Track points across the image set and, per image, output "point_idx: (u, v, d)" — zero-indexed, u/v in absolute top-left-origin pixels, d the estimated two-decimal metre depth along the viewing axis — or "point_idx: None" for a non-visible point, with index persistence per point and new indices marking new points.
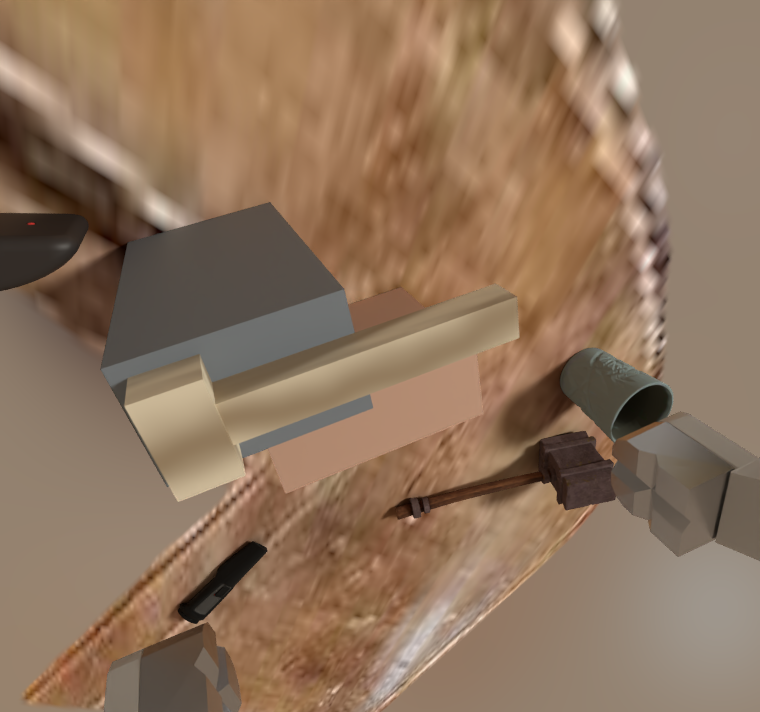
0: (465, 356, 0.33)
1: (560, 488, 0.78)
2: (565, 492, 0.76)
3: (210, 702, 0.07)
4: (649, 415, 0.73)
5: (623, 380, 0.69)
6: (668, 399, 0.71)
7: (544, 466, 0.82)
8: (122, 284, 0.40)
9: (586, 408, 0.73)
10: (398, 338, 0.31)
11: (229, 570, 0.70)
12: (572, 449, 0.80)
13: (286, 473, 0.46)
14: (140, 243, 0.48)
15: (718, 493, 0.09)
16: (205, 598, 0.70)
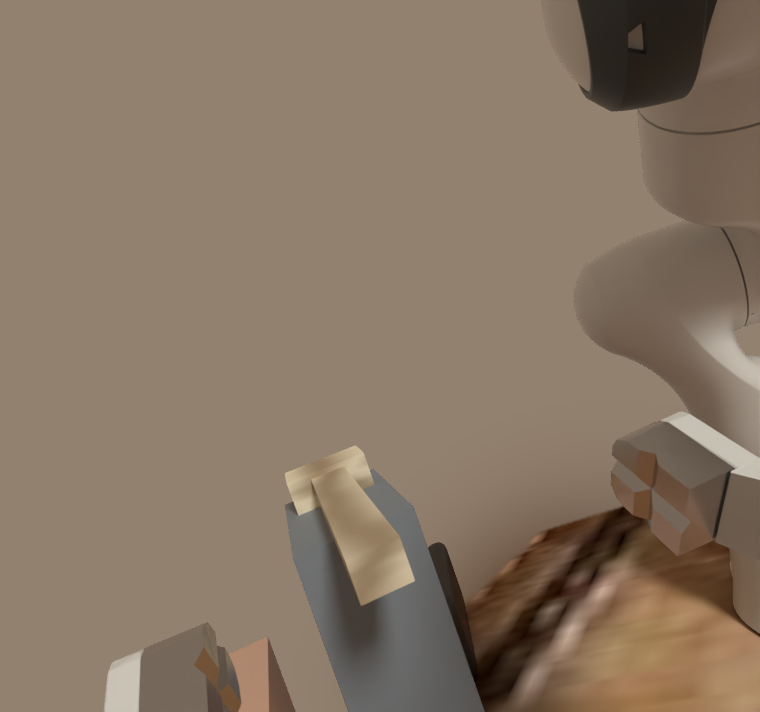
0: (336, 534, 0.30)
1: None
2: None
3: (210, 702, 0.07)
4: None
5: None
6: None
7: None
8: None
9: None
10: (368, 498, 0.35)
11: None
12: None
13: None
14: None
15: (719, 493, 0.09)
16: None
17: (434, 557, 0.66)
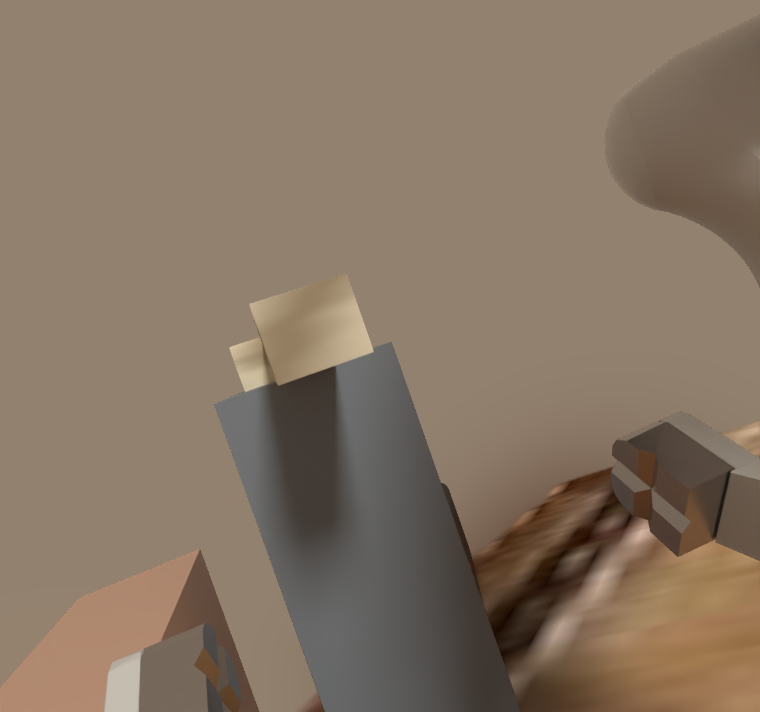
0: None
1: None
2: None
3: (210, 702, 0.07)
4: None
5: None
6: None
7: None
8: None
9: None
10: None
11: None
12: None
13: (114, 586, 0.30)
14: None
15: (719, 493, 0.09)
16: None
17: None
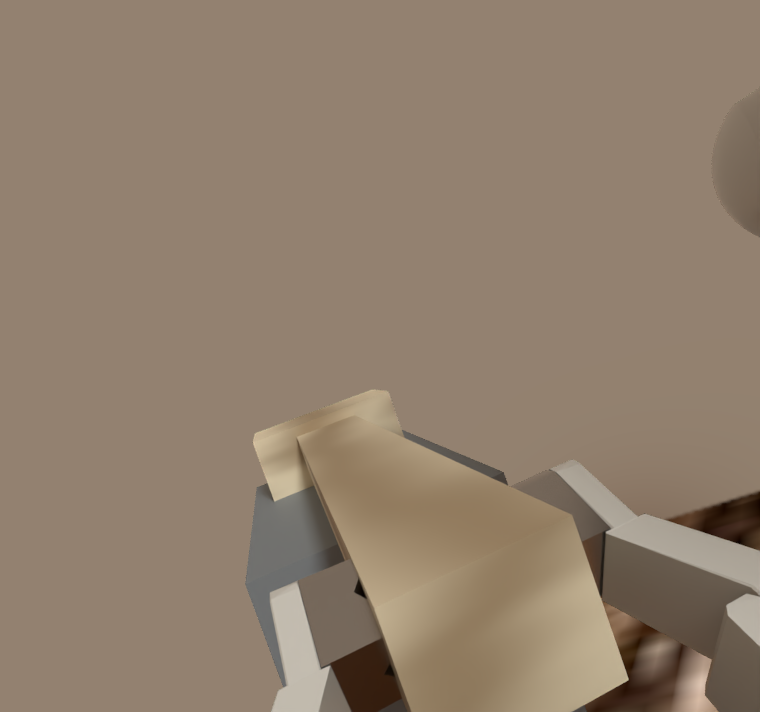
0: (341, 520, 0.11)
1: None
2: None
3: None
4: None
5: None
6: None
7: None
8: None
9: None
10: (415, 445, 0.15)
11: None
12: None
13: None
14: None
15: (596, 553, 0.08)
16: None
17: None
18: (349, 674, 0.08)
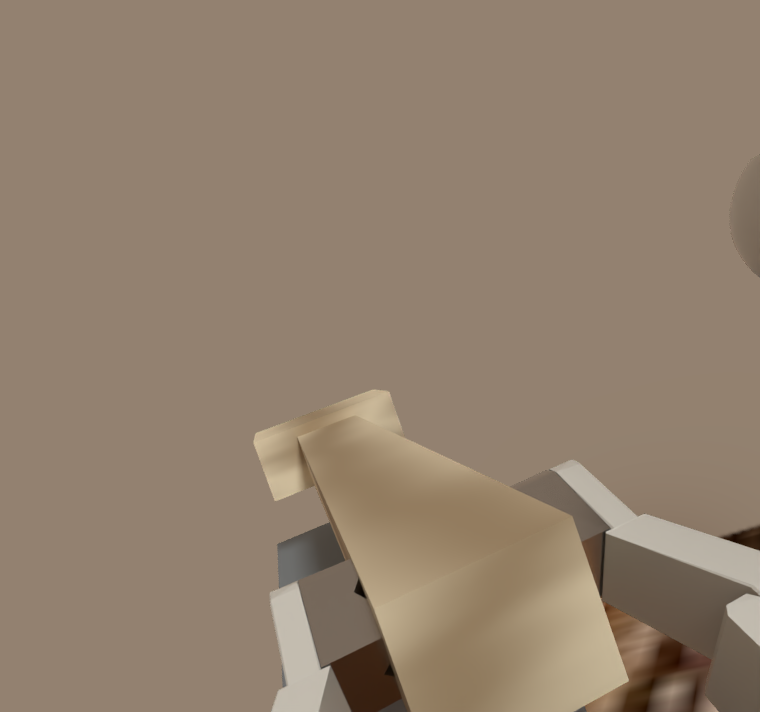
0: (341, 520, 0.11)
1: None
2: None
3: None
4: None
5: None
6: None
7: None
8: None
9: None
10: (416, 445, 0.15)
11: None
12: None
13: None
14: None
15: (596, 553, 0.08)
16: None
17: None
18: (349, 674, 0.08)
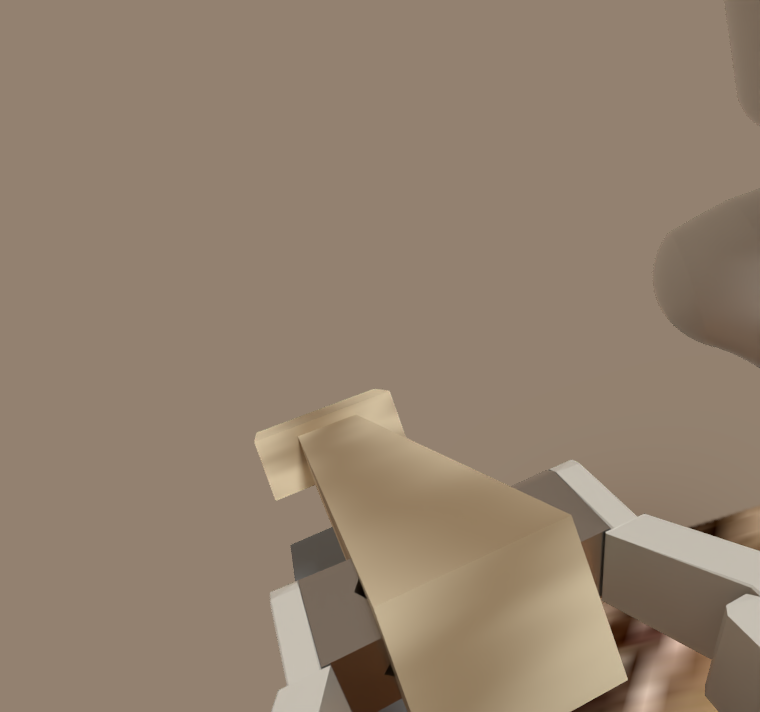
0: (341, 519, 0.11)
1: None
2: None
3: None
4: None
5: None
6: None
7: None
8: None
9: None
10: (416, 444, 0.15)
11: None
12: None
13: None
14: None
15: (596, 553, 0.08)
16: None
17: None
18: (349, 674, 0.08)
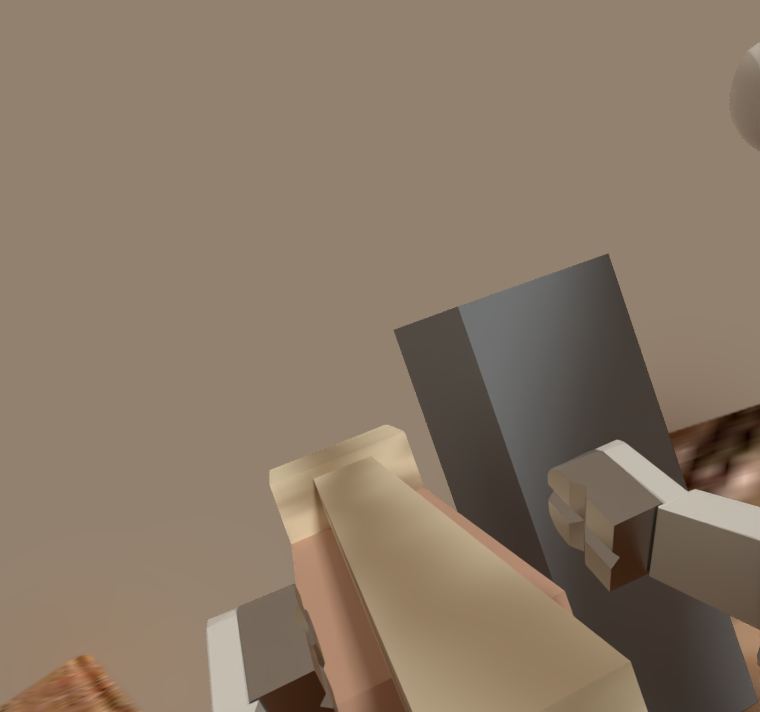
0: (380, 621, 0.11)
1: None
2: None
3: (310, 654, 0.08)
4: None
5: None
6: None
7: None
8: None
9: None
10: (443, 514, 0.15)
11: None
12: None
13: None
14: None
15: (647, 528, 0.09)
16: None
17: None
18: (281, 707, 0.07)
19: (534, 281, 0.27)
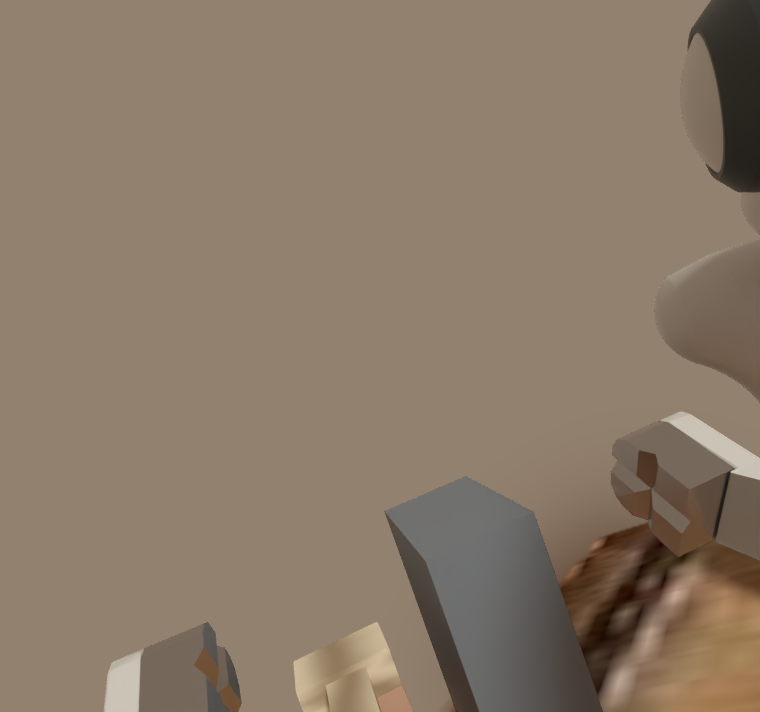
0: None
1: None
2: None
3: (210, 702, 0.07)
4: None
5: None
6: None
7: None
8: None
9: None
10: None
11: None
12: None
13: None
14: None
15: (719, 493, 0.09)
16: None
17: None
18: None
19: (480, 537, 0.39)
